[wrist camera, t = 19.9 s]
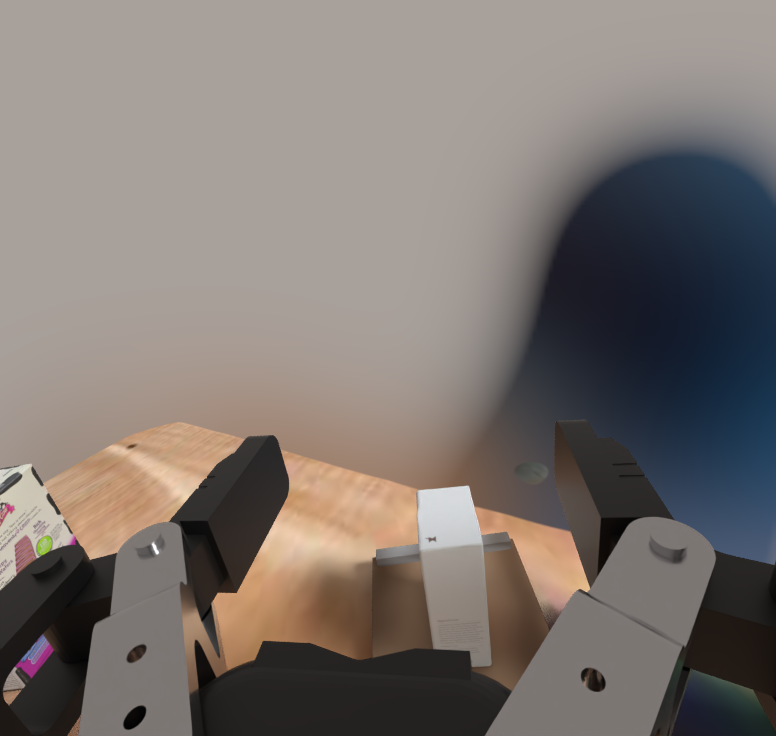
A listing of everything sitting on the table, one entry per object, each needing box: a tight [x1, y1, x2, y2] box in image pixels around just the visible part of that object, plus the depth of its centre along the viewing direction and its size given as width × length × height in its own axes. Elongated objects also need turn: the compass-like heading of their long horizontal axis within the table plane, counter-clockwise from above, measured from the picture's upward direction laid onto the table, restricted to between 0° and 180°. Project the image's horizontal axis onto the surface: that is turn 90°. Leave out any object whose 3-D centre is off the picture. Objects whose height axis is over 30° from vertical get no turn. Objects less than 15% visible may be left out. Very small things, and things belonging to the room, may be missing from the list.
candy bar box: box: [0, 464, 80, 692], centre depth 38 cm, size 11×5×16 cm, turn 5°
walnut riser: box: [372, 532, 550, 691], centre depth 34 cm, size 14×16×3 cm
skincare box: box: [416, 486, 492, 667], centre depth 31 cm, size 6×4×12 cm
